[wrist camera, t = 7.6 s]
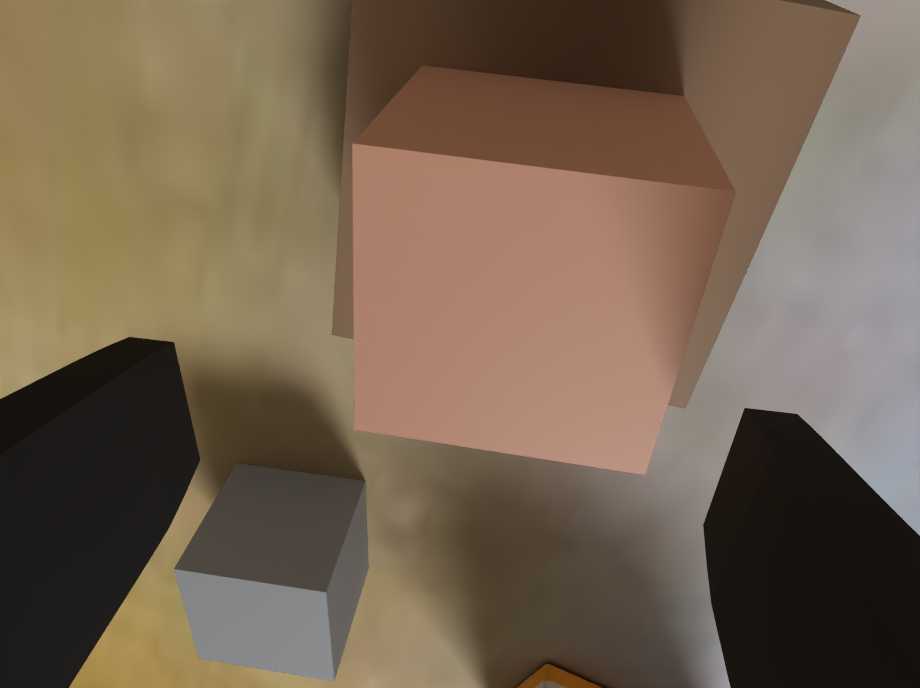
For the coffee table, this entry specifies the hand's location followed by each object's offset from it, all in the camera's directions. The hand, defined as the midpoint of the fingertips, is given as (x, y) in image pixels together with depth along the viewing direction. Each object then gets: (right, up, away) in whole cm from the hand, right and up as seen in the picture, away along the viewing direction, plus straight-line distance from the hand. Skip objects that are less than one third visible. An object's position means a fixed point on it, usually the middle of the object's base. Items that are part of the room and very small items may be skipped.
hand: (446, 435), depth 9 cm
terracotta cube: (+2, +4, +4) cm, 6 cm away
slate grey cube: (-5, -5, +16) cm, 17 cm away
